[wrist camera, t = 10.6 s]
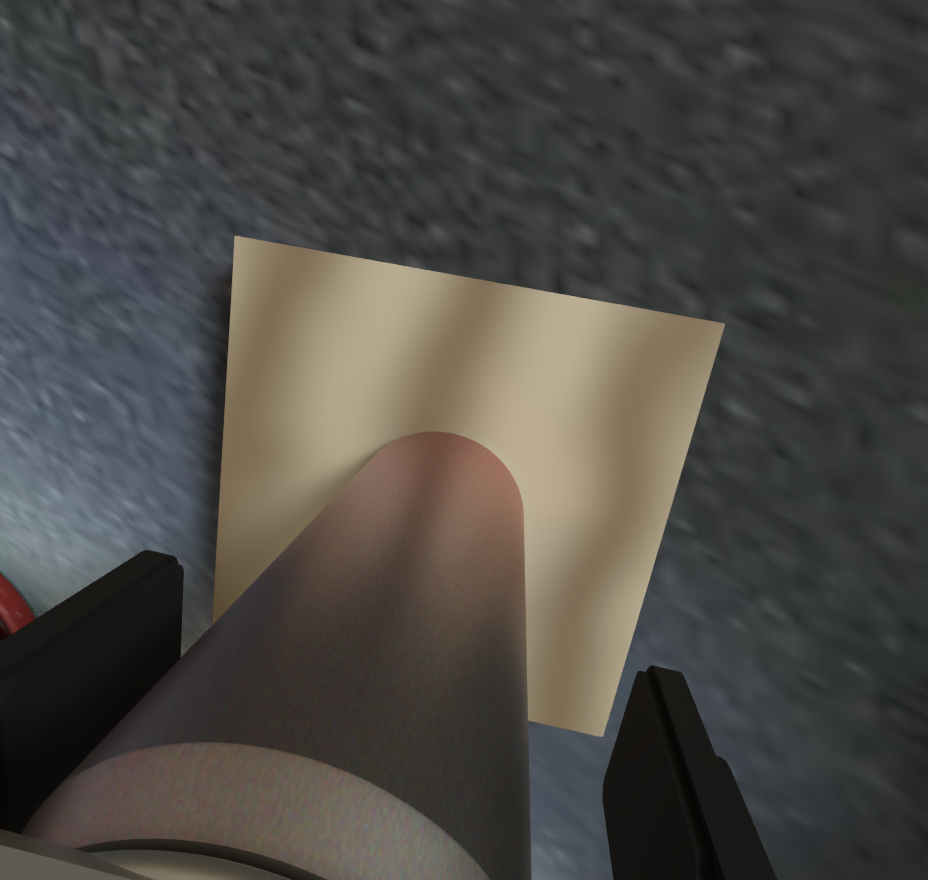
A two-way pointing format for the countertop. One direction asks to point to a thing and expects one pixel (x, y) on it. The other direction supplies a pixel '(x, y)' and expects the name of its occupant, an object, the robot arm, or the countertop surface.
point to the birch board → (466, 432)
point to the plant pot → (12, 609)
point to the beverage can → (340, 701)
